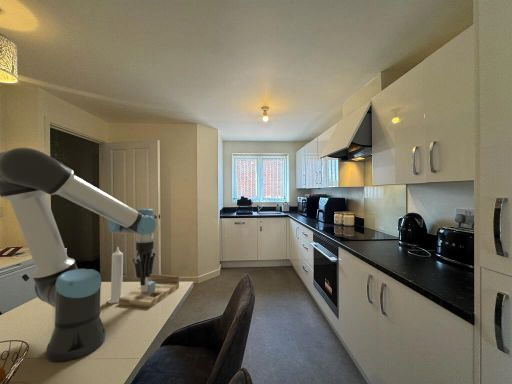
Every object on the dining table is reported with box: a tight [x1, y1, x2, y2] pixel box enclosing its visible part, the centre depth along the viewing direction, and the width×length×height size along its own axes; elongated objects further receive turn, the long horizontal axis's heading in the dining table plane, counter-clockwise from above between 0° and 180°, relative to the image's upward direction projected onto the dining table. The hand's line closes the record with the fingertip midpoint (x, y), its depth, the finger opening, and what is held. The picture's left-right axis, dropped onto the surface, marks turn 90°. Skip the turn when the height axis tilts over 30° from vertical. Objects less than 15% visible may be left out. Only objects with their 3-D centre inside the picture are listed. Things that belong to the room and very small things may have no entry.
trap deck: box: [118, 273, 180, 309], centre depth 114 cm, size 24×16×6 cm, turn 168°
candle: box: [107, 246, 124, 305], centre depth 109 cm, size 7×7×25 cm
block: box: [141, 280, 155, 294], centre depth 112 cm, size 4×4×4 cm
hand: (144, 291), depth 109 cm, fingers closed
